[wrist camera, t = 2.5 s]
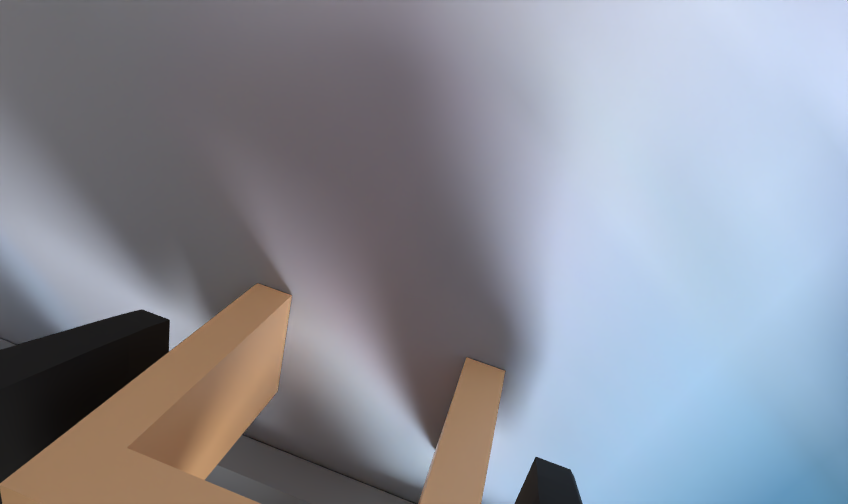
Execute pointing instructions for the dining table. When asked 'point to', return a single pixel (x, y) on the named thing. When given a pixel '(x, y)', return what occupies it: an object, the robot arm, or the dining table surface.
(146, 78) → the dining table surface
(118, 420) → the block
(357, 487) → the rail
